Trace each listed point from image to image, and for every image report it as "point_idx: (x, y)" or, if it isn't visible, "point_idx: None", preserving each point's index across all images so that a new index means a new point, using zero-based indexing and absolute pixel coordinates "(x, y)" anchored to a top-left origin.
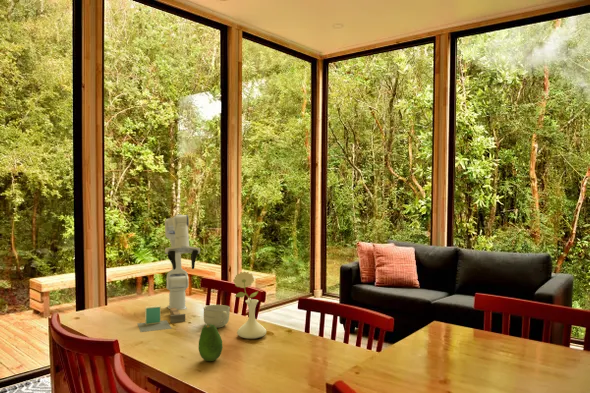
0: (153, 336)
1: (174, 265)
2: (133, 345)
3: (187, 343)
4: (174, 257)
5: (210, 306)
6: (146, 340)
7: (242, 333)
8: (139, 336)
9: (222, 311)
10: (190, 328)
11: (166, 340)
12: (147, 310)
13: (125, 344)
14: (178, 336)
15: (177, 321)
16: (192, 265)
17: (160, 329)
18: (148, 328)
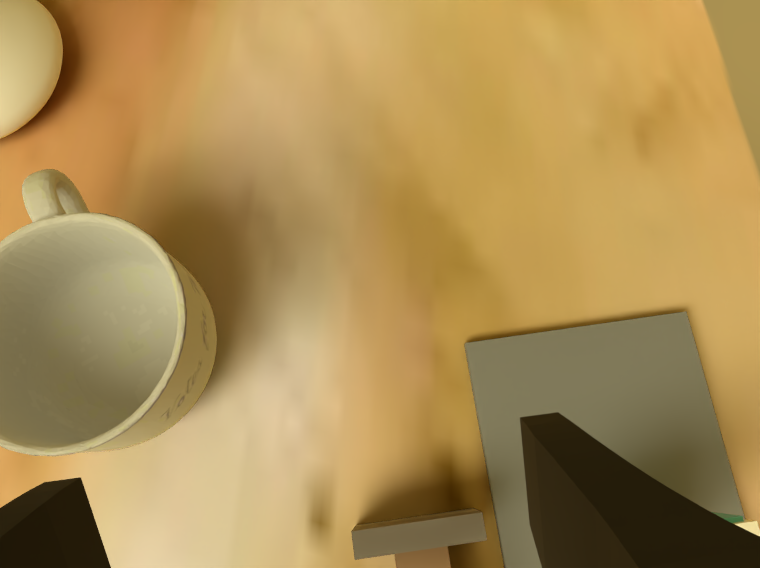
0: (582, 225)
1: (572, 425)
2: (682, 89)
3: (371, 52)
4: (674, 561)
5: (105, 432)
6: (618, 158)
7: (38, 7)
8: (677, 248)
9: (51, 195)
10: (329, 342)
11: (493, 129)
12: (722, 516)
13: (735, 116)
14: (419, 186)
15: (420, 517)
16: (59, 545)
17: (547, 338)
18: (640, 389)
